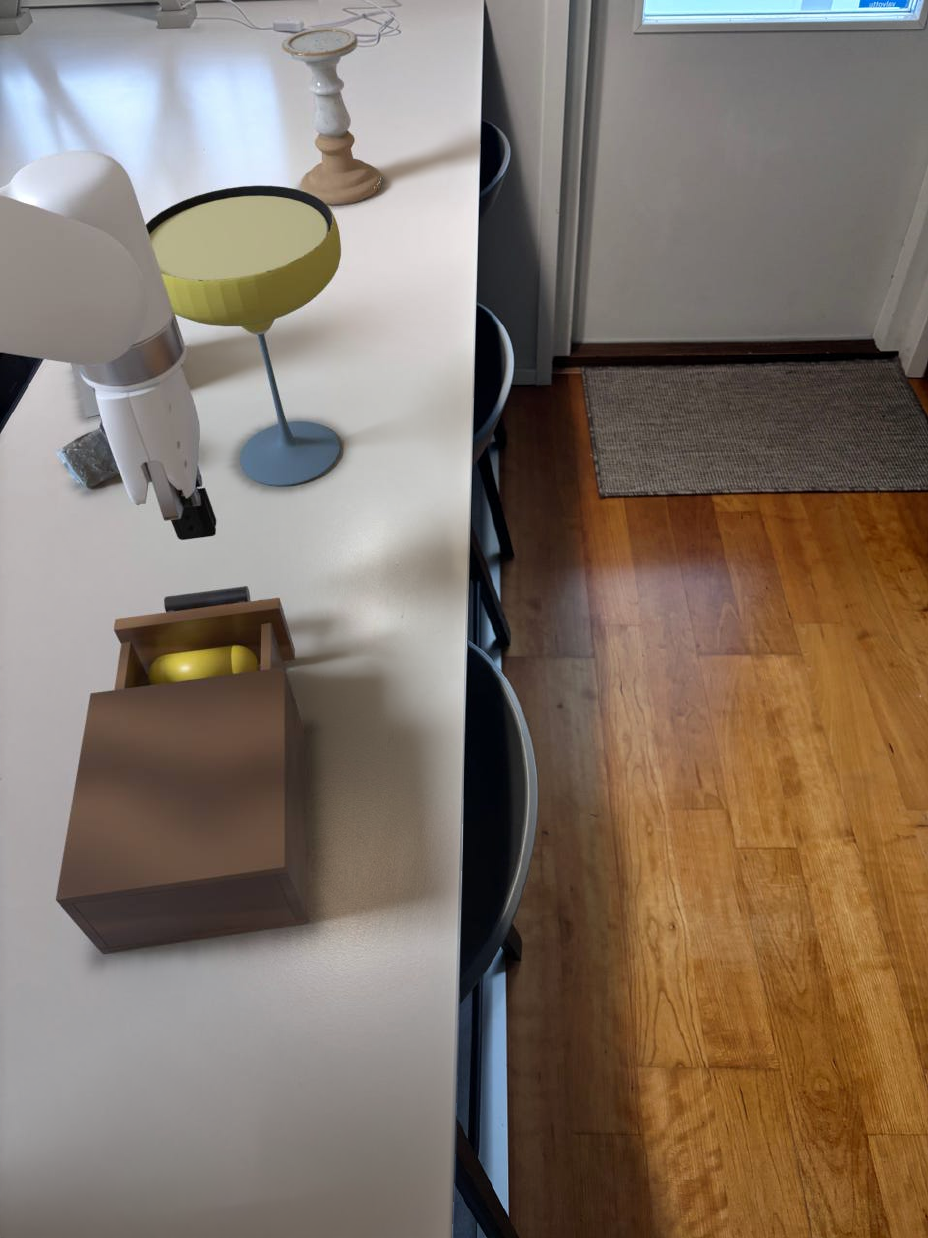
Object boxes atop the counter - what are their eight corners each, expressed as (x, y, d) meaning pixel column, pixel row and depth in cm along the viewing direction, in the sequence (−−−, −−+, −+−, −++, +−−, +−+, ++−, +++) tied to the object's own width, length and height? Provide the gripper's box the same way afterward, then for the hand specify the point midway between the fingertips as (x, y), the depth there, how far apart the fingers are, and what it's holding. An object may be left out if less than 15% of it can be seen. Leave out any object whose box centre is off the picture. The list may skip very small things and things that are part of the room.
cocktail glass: (366, 393, 109) (330, 173, 90) (381, 495, 97) (343, 265, 78) (208, 416, 108) (139, 197, 89) (203, 521, 96) (123, 295, 77)
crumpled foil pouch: (70, 434, 108) (22, 421, 96) (124, 404, 107) (82, 387, 96) (113, 508, 108) (70, 504, 96) (166, 478, 108) (130, 471, 96)
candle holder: (332, 213, 139) (308, 62, 124) (286, 188, 146) (257, 41, 131) (398, 185, 144) (382, 37, 129) (350, 162, 151) (329, 18, 136)
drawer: (145, 636, 85) (120, 583, 80) (294, 616, 85) (279, 563, 80) (121, 829, 72) (89, 781, 67) (297, 804, 73) (279, 754, 67)
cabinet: (127, 756, 77) (90, 692, 71) (305, 731, 78) (284, 666, 72) (101, 954, 66) (55, 900, 60) (309, 923, 67) (285, 867, 61)
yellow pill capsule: (148, 707, 77) (138, 666, 76) (158, 690, 80) (149, 651, 79) (259, 692, 77) (251, 651, 76) (264, 676, 80) (257, 636, 79)
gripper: (88, 295, 72) (161, 480, 86) (58, 414, 62) (146, 601, 76) (187, 283, 72) (244, 469, 86) (173, 399, 62) (239, 589, 76)
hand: (198, 531), depth 81 cm, fingers closed
